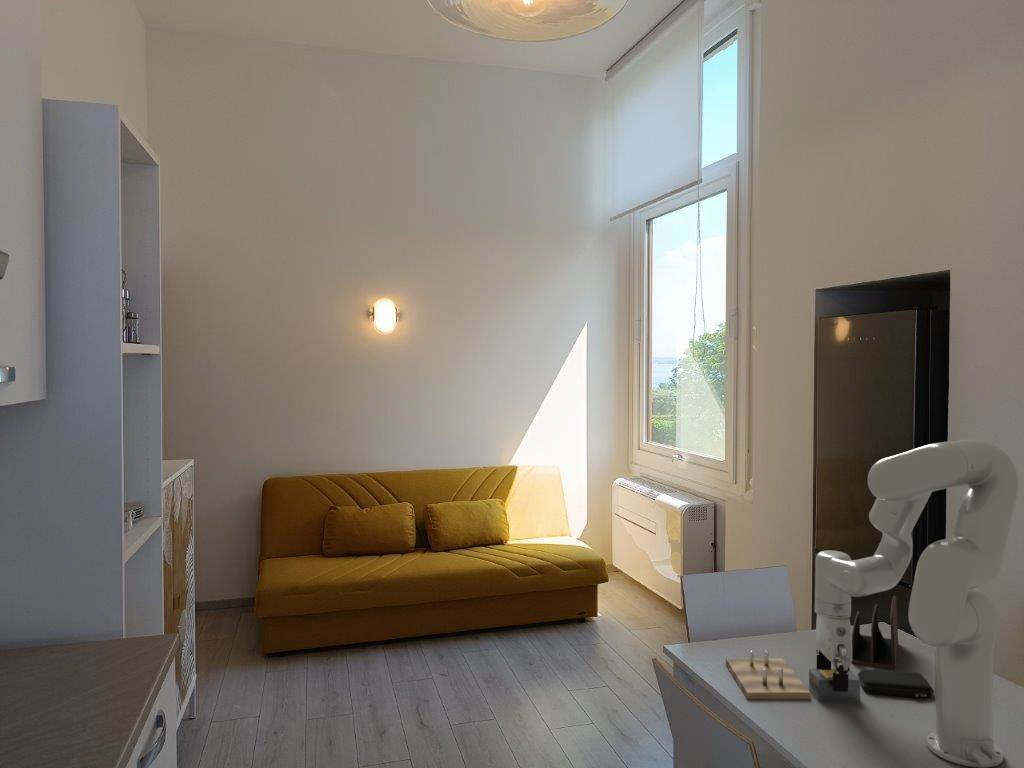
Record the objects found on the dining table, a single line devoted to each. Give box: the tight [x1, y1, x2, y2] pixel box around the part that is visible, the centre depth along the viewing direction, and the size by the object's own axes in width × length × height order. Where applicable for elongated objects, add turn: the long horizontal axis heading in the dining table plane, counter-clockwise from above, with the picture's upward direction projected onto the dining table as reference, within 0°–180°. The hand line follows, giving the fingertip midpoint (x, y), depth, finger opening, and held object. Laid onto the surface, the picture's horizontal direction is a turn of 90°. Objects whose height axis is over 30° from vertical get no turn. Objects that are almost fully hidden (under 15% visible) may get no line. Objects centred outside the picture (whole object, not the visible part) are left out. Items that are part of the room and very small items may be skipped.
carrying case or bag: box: [857, 668, 935, 699], centre depth 173 cm, size 11×3×15 cm
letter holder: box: [850, 595, 899, 671], centre depth 195 cm, size 10×20×14 cm, turn 151°
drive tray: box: [725, 650, 812, 700], centre depth 179 cm, size 20×14×5 cm
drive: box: [808, 668, 861, 702], centre depth 170 cm, size 9×6×5 cm, turn 88°
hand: (831, 681), depth 171 cm, fingers open, 9 cm apart
